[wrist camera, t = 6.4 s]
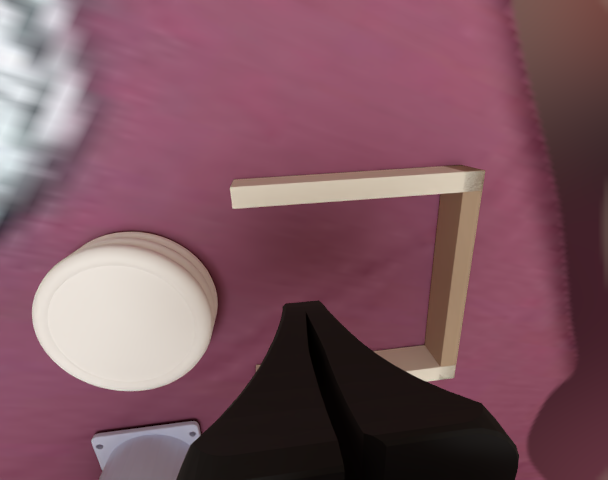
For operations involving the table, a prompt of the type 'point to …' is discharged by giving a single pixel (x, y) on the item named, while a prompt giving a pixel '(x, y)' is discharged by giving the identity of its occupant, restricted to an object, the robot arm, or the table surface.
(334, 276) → the table surface
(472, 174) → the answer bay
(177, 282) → the coaster
